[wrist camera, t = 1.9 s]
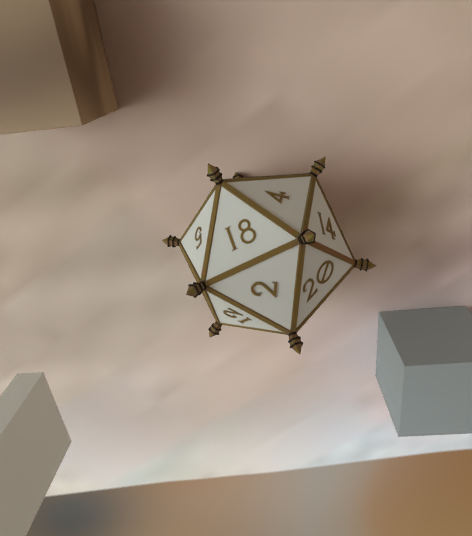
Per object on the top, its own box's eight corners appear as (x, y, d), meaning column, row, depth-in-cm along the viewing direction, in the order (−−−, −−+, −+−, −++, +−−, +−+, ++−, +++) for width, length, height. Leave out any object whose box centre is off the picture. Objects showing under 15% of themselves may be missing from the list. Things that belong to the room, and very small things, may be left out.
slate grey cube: (378, 311, 25) (404, 366, 21) (464, 304, 25) (509, 359, 21) (375, 374, 28) (398, 436, 23) (454, 369, 27) (492, 432, 23)
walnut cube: (-17, 3, 19) (-100, -11, 14) (91, -12, 18) (39, -32, 14) (22, 120, 21) (-40, 139, 17) (119, 109, 21) (81, 125, 16)
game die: (266, 167, 25) (361, 83, 16) (326, 294, 26) (454, 287, 16) (128, 227, 23) (141, 170, 13) (197, 367, 23) (259, 411, 14)
